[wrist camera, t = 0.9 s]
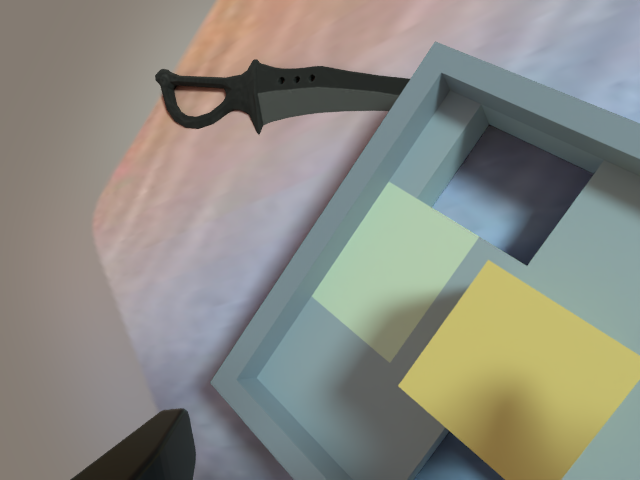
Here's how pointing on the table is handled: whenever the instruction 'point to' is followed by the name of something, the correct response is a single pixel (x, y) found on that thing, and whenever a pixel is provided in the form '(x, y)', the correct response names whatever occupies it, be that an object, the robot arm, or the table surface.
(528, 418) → the block
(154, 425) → the robot arm
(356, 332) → the tray
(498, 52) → the table surface
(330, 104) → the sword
